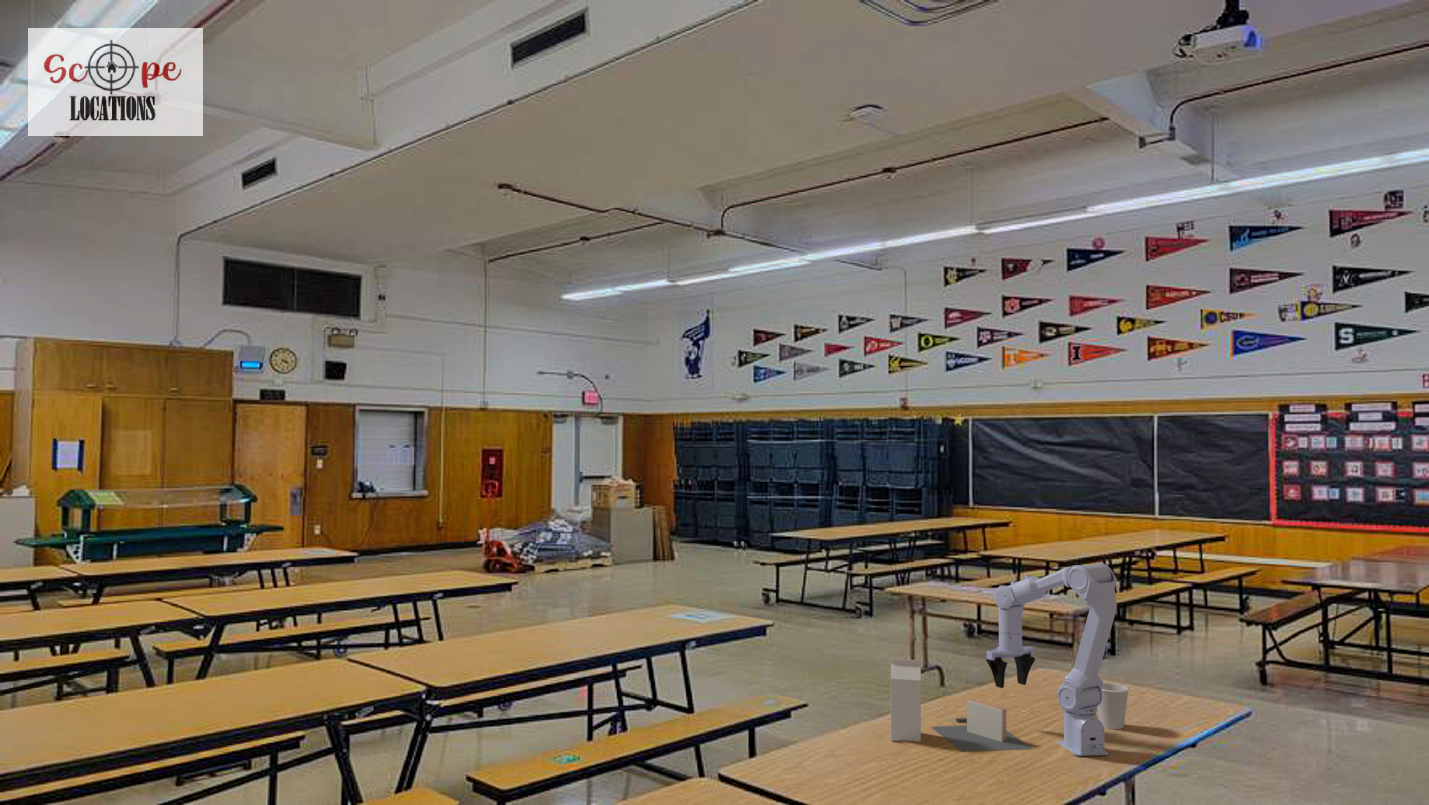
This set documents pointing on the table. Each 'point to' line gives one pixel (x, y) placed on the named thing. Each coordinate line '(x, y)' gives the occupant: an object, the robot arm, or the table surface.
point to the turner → (961, 720)
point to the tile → (986, 720)
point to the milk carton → (905, 700)
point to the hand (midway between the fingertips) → (1010, 685)
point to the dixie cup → (1113, 705)
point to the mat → (978, 740)
